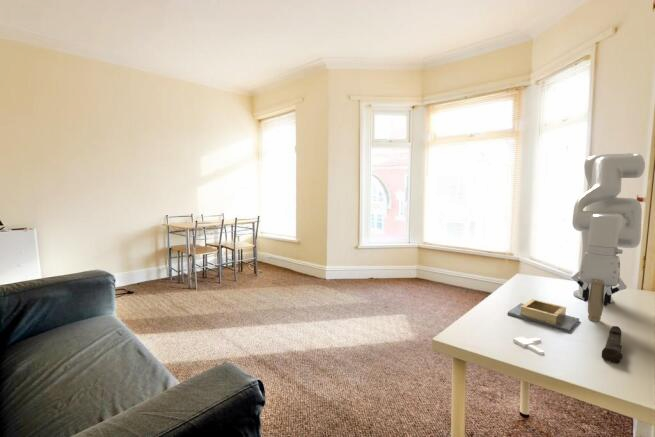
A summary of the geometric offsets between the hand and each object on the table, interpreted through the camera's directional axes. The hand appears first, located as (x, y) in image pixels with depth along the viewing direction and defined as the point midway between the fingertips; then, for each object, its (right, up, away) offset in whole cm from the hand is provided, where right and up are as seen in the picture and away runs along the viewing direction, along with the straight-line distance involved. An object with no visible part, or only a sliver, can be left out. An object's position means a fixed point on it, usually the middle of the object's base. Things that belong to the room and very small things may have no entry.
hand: (595, 302), depth 109 cm
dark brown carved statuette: (-11, -9, -18) cm, 23 cm away
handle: (0, -7, +1) cm, 7 cm away
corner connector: (-32, -9, -17) cm, 37 cm away
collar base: (-17, -6, +2) cm, 18 cm away
